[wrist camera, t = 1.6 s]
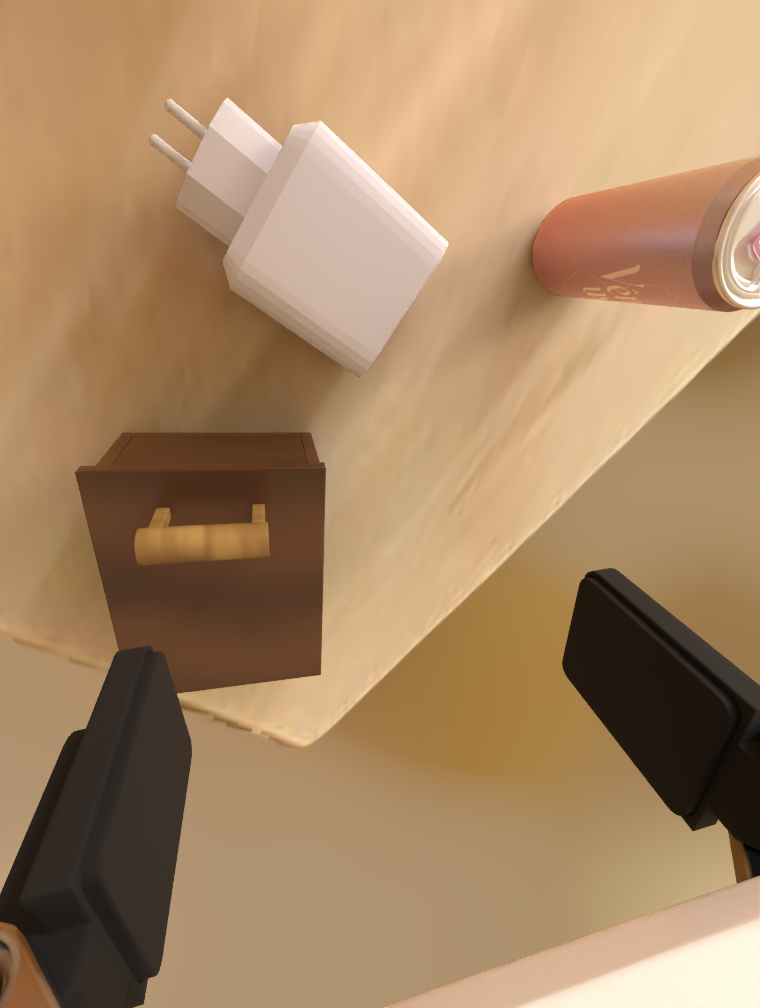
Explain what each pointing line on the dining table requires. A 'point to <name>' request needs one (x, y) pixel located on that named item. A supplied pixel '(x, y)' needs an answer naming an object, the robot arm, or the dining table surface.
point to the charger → (306, 231)
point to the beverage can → (659, 241)
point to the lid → (213, 566)
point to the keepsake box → (210, 449)
